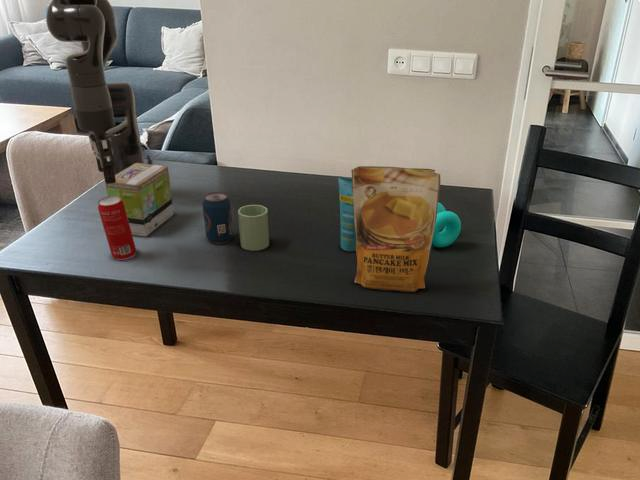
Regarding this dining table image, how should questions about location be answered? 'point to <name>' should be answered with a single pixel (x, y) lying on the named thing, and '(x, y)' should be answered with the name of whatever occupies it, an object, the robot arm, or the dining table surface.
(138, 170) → the tea box
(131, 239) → the beverage can
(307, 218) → the dining table surface
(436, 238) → the donuts
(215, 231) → the soda can
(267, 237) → the tumbler
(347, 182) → the tube
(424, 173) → the pancake mix bag
